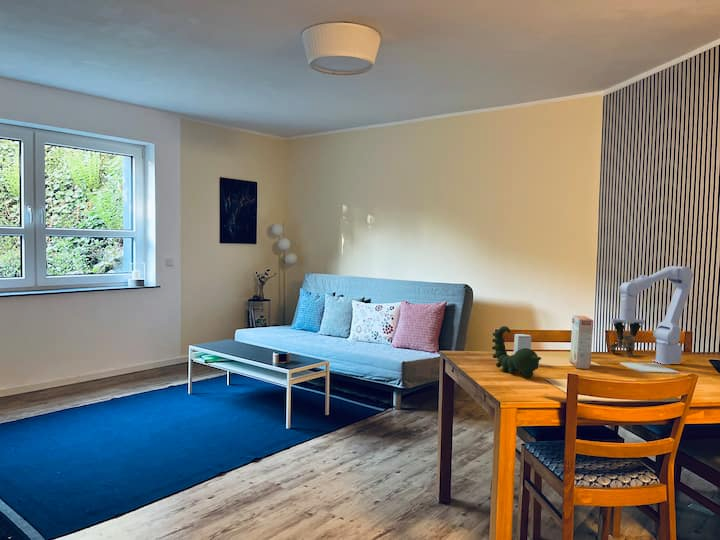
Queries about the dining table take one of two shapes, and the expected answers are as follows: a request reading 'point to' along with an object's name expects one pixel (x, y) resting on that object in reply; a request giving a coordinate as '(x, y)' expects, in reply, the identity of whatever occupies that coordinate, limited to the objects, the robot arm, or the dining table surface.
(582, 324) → the cracker box
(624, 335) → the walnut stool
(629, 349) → the pottery mug
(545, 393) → the dining table surface
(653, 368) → the grey mat
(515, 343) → the skincare box
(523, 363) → the toy figurine
